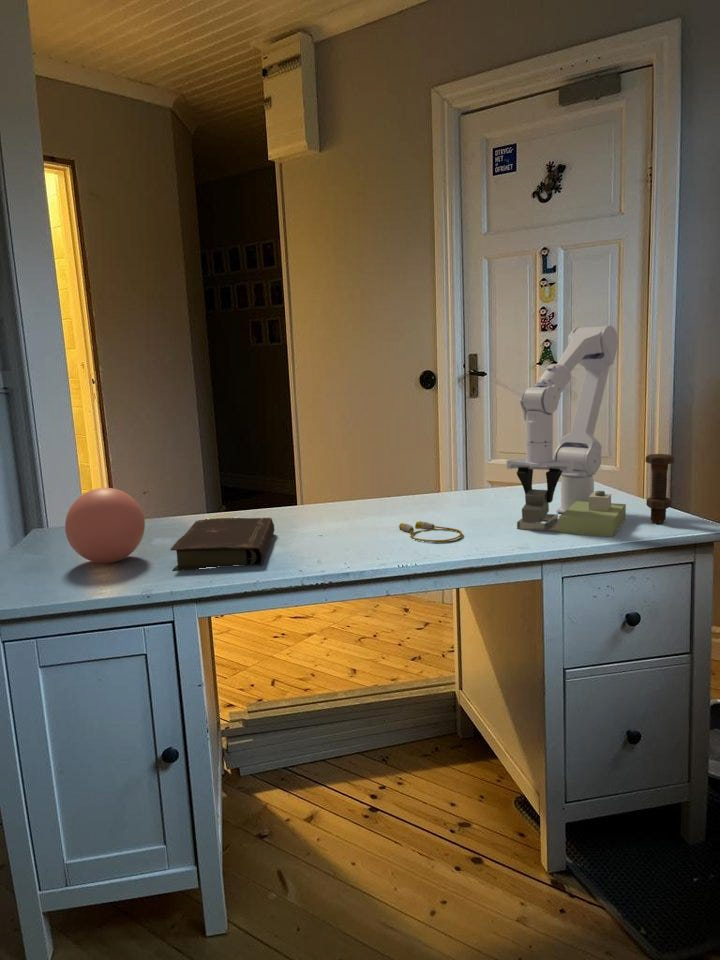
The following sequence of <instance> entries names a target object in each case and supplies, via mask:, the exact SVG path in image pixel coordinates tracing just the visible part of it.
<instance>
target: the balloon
mask: <svg viewBox="0 0 720 960" xmlns="http://www.w3.org/2000/svg"><path fill="white" fill-rule="evenodd" d="M145 528H146V521H145V515H144V513H143V510H142V508H141V507H140V504H139V503H138V502H137V501H136V500H135V498H133V497H132V496H131V495H130V494H128V493H126V492H125V491H123V490H120V489H118V488H117V489H116V488H114V487H113V488H111V487H100V488H94V489H92V490H89V491H86V492H85V493H83V494H82V495H80V496H78V497H77V499H75V501H74V502H73V503H72V505H70V507H69V509H68V511H67V514H66V517H65V523H64V530H65V535H66V539H67V541H68V543H69V546H70V547H71V548H72V549H73V550H74V552H75V553H76V554H77V555H79V556H80V557H82V558H83V559H86V560H88V561H90V562H93V563H97V564H98V563H99V564H111V563H116V562H118V561H121V560H123V559H126V558H127V557H128V556H130V555H131V554H132V553H134V551H135V550H136V549H137V548H138V547H139V545H140V543H141V542H142V539H143V537H144V534H145Z"/></svg>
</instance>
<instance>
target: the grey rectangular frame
mask: <svg viewBox="0 0 720 960" xmlns="http://www.w3.org/2000/svg"><path fill="white" fill-rule="evenodd" d="M542 521H543V522H544V521H545V523H542V522H541V523H534V522H523V521H522V518H520V519H519V520H518V521H517V522H516V529H518V530H528V531H529V530H530V531H539V532H551V533H552V532H554V533H560V532H559V515H558V514H555V513H554V514H553V513H547V514H546V516H545V517H544V519H543V520H542Z"/></svg>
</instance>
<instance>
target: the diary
mask: <svg viewBox="0 0 720 960" xmlns="http://www.w3.org/2000/svg"><path fill="white" fill-rule="evenodd" d="M274 532H275V524H274V522H273V518H271V517H262V518H261V517H223V518H221V517H220V518H218V517H217V518H208V519H205V518H204V519H199V520H195V521H194V522H193V524H192V525H191V526H190V527H189V529H188V530H187V531H186V532H185V534H183V535H182V536H181V537H180V538H179V539H177V540H176V542H175V543H174V544H173V545H172V547H171V548H170V551H175V552H176V559H177V560H176V561H177V564H178V565H177V564H176V565H177V566H176V565H175V566H174V567H173V568H172V572H179V571H180V572H181V570H184V571H197V570H196V569H199V568H206V567H217V568H219V567H218V566H233V565H246V566H247V564H248V562H247V561H249V560H250V559H249V558H252V559H251V561H250V564H249V566H250V565H252V566H253V565H254V564H255V562H256V561H257V560H258V557H259V556H260V560H259V565H260V566H259V567H262V565H263V563H264V560H265V559H264V558H265V557H266V554H267V551H268V549H269V546H270V543H271V540H272V537H273V535H274ZM259 553H260V554H259ZM265 553H266V554H265ZM248 559H249V560H248ZM246 563H247V564H246ZM233 567H234V566H233Z"/></svg>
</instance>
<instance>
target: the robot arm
mask: <svg viewBox="0 0 720 960" xmlns="http://www.w3.org/2000/svg"><path fill="white" fill-rule="evenodd" d="M567 336H568V337H567V347H566V348H565V350H564V351H563V353H562V355H561V356H560V358H559V360H558V362H557V363H552V364H549V365H548V366H547V367H546V370H545V371H544V372H543V374H542V375H541V376H540V377H539V379H538V380H537V381H536V383H535V384H534V385H533V386H530V387H528V388H526V389H524V391H522V392H523V393H522V395H521V399H520V401H519V403H520V408H521V409H522V413H523V418H524V421H525V428H526V429H525V430H526V431H525V435H526V437H525V440H526V441H525V442H526V443H525V447H526V451H525V452H526V453H525V456H526V458H516V459H515V458H509V459H507V460H506V469H507V470H509V469H510V470H511V469H516V470H517V471H516V475H517V478H518V479H519V481H520V483H521V485H522V488H523V490H524V494H525V495H526V494H527V493H528V491H529V490H530V489H533V474H534V470H542V471H543V470H544V471H546V472H545V476H546V490H547V503H550V504H551V503H552V502H553V498H554V495H555V494H554V493H555V490H556V488H557V484H558V482H559V480H560V507H558V508H557V510H556V511H555V513H559V514H563V513H564V512H565V511H566V510H567V509H568V508H569V507H570V506H571V505H572V504H574V503H575V502H576V501H581V502H589V496H590V495H591V494H592V493H595V481H594V475H596V473H598V471H599V470H600V468H601V464H602V449H603V446H602V444H601V443H600V441H599V440H598V439H597V438H596V437H595V435H594V434H595V431H596V426H597V422H598V417H599V413H600V409H601V406H602V400H603V397H604V392H605V389H606V384H607V380H608V376H609V371H610V367H611V366H612V365H613V364H614V362H615V358H616V356H617V355H616V354H617V351H618V346H619V337H618V333H617V330H616V328H615V327H614V326H613V325H612V324H611V325H610V324H609V325H606V326H605V325H604V326H602V325H601V326H588V327H580V326H578V327H577V326H575V327H574V328H573V329H571V332H570V333H569V334H568V335H567ZM578 364H579V365H580V366H582V367H584V369H585V373H584V377H583V382H582V385H581V388H580V393H579V396H578V401H577V405H576V410H575V413H574V417H573V422H572V426H571V431H570V432H568V433H567V434H565V435H564V436H563V437H561V438H560V439H559V443H558V446H557V447H556V449H555V450H554V451H553V449H554V445H553V444H554V443H553V442H554V437H553V435H554V433H553V432H554V430H553V429H554V418H553V417H554V412H555V411H557V410H558V406H559V403H560V399H561V396H562V395H561V394H562V393H563V391H564V389H565V388H566V387H567V385H569V383H570V382H571V372H572V370H574V369H575V367H576V366H577V365H578Z"/></svg>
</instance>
